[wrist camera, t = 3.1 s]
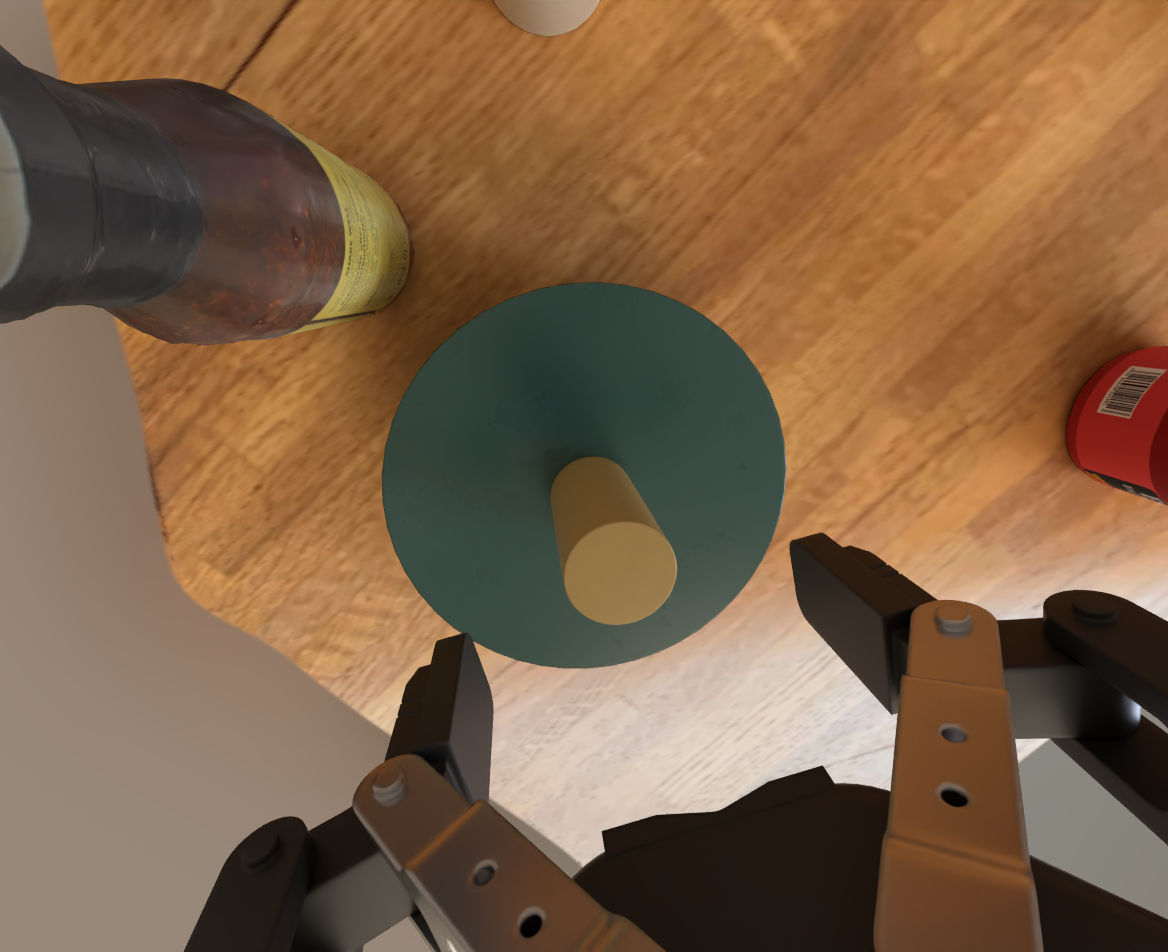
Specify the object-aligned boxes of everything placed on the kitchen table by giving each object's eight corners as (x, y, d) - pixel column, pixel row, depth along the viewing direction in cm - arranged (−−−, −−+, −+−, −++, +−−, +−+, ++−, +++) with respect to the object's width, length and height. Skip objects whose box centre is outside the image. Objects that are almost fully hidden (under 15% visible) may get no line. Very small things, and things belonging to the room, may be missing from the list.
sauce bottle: (364, 143, 24) (-140, -356, 6) (444, 278, 26) (265, 241, 8) (236, 219, 25) (-642, -13, 6) (324, 348, 27) (-129, 474, 8)
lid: (324, 345, 20) (216, 373, 13) (742, 234, 21) (864, 202, 13) (461, 692, 25) (438, 854, 18) (795, 597, 26) (905, 716, 18)
